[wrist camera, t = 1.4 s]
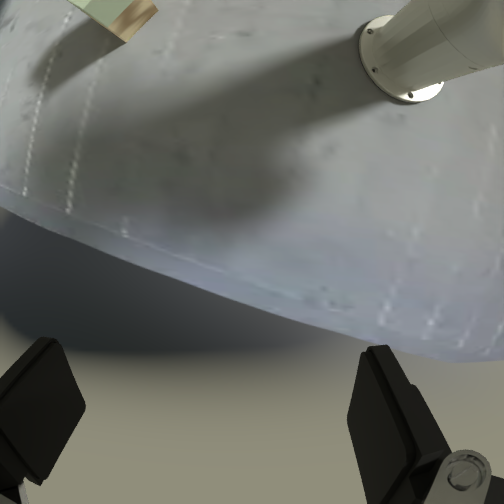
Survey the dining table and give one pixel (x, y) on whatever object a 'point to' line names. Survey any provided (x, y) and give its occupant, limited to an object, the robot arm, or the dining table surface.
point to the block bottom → (131, 19)
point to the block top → (102, 9)
